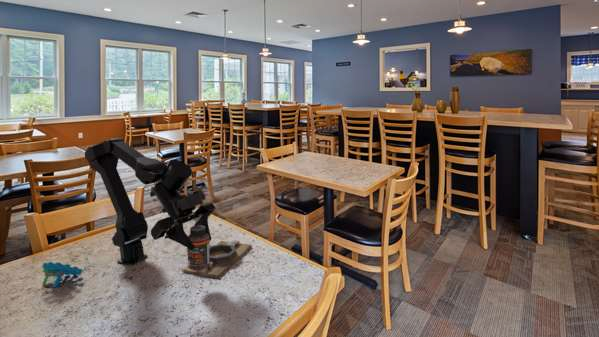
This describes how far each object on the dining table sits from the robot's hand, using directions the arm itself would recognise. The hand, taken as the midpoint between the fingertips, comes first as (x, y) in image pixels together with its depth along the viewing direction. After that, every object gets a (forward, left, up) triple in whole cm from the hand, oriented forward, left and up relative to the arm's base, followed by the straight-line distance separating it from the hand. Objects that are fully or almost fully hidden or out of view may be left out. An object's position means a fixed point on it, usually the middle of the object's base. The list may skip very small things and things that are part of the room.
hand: (201, 244), depth 91 cm
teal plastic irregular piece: (-41, -10, -13) cm, 44 cm away
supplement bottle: (-1, 0, -7) cm, 7 cm away
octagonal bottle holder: (-5, +16, -12) cm, 20 cm away
